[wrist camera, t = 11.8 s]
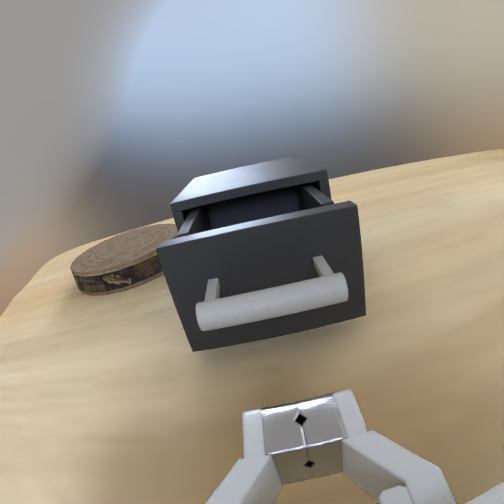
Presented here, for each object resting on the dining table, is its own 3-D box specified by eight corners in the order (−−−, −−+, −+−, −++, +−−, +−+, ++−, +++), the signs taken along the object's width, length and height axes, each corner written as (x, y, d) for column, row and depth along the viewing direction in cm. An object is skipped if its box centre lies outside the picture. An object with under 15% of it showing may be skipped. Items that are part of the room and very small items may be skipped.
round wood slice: (167, 285, 33) (158, 259, 32) (58, 301, 35) (49, 280, 34) (197, 235, 48) (192, 216, 47) (108, 253, 50) (102, 237, 49)
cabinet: (341, 273, 28) (326, 169, 24) (199, 303, 28) (169, 203, 25) (307, 226, 41) (295, 156, 38) (211, 246, 42) (193, 178, 39)
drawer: (390, 355, 16) (389, 226, 13) (185, 397, 16) (134, 281, 14) (319, 245, 32) (307, 173, 30) (208, 268, 33) (189, 199, 30)
